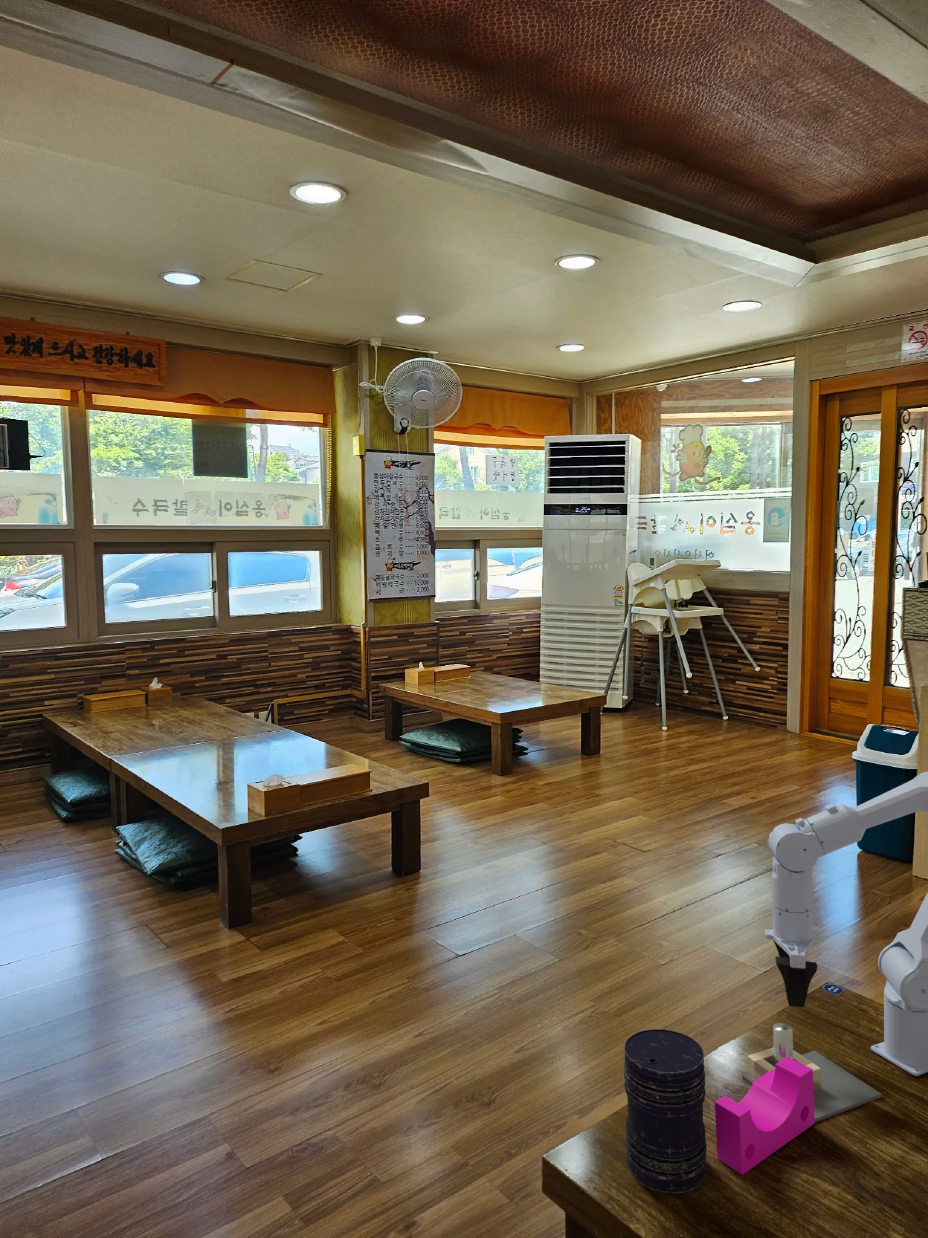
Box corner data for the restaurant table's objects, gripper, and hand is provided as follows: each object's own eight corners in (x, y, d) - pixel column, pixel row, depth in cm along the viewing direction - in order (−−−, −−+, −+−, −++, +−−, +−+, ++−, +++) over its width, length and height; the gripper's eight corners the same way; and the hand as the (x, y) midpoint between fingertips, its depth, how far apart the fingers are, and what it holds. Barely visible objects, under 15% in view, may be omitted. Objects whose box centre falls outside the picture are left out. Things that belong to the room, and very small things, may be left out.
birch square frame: (784, 1063, 127) (784, 1044, 127) (821, 1089, 121) (820, 1068, 121) (747, 1076, 125) (747, 1056, 124) (783, 1102, 118) (782, 1081, 118)
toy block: (773, 1100, 119) (771, 1048, 118) (814, 1123, 114) (812, 1069, 113) (701, 1148, 110) (698, 1092, 110) (741, 1175, 105) (739, 1117, 105)
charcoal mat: (814, 1054, 130) (814, 1050, 130) (881, 1097, 119) (881, 1094, 119) (742, 1078, 125) (742, 1075, 125) (805, 1126, 114) (805, 1122, 114)
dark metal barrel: (650, 1129, 114) (647, 1020, 113) (720, 1161, 108) (718, 1045, 107) (611, 1170, 107) (608, 1054, 106) (684, 1207, 100) (681, 1083, 99)
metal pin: (784, 1075, 124) (783, 1021, 124) (797, 1084, 122) (796, 1030, 122) (770, 1080, 123) (769, 1026, 123) (783, 1089, 121) (782, 1034, 121)
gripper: (761, 886, 137) (762, 968, 138) (767, 923, 124) (769, 1014, 124) (808, 889, 136) (809, 973, 136) (820, 927, 122) (821, 1019, 122)
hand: (793, 993), depth 130 cm, fingers open, 7 cm apart
